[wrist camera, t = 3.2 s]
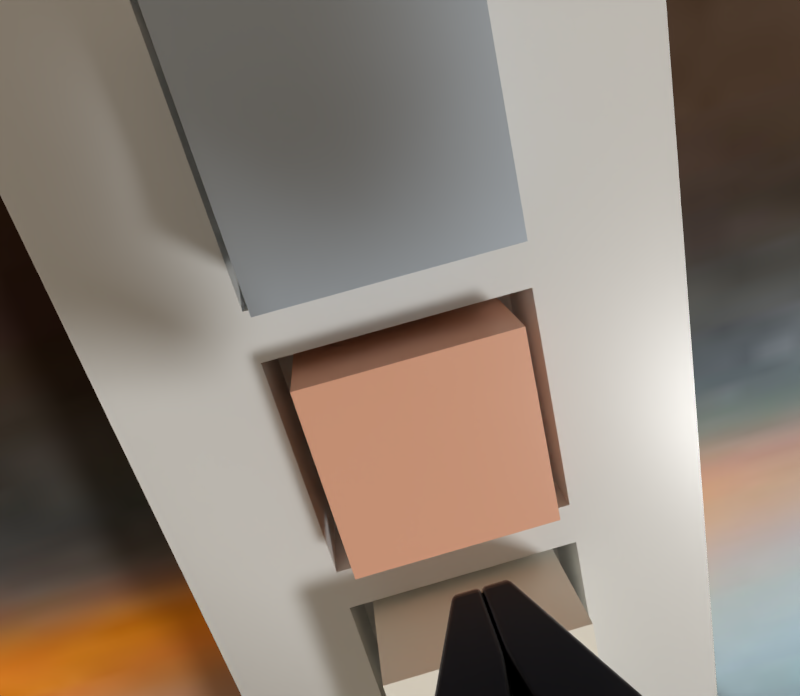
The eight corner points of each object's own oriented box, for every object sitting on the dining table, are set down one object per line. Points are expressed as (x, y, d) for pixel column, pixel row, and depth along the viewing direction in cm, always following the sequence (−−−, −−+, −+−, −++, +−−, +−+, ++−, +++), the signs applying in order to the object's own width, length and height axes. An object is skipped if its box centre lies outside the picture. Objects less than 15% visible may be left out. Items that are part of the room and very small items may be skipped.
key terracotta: (524, 460, 16) (560, 519, 14) (349, 510, 16) (355, 579, 13) (490, 291, 14) (525, 326, 12) (294, 345, 14) (289, 392, 12)
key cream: (576, 677, 17) (616, 765, 15) (415, 725, 17) (431, 821, 15) (551, 547, 15) (592, 623, 13) (372, 599, 15) (382, 686, 13)
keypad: (649, 696, 24) (727, 833, 20) (353, 785, 24) (362, 946, 19) (542, -110, 14) (649, -217, 10) (33, 21, 14) (-105, -24, 9)
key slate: (487, 217, 12) (527, 241, 10) (263, 278, 12) (250, 317, 10) (438, -46, 11) (471, -90, 8) (175, 22, 11) (136, -3, 8)
